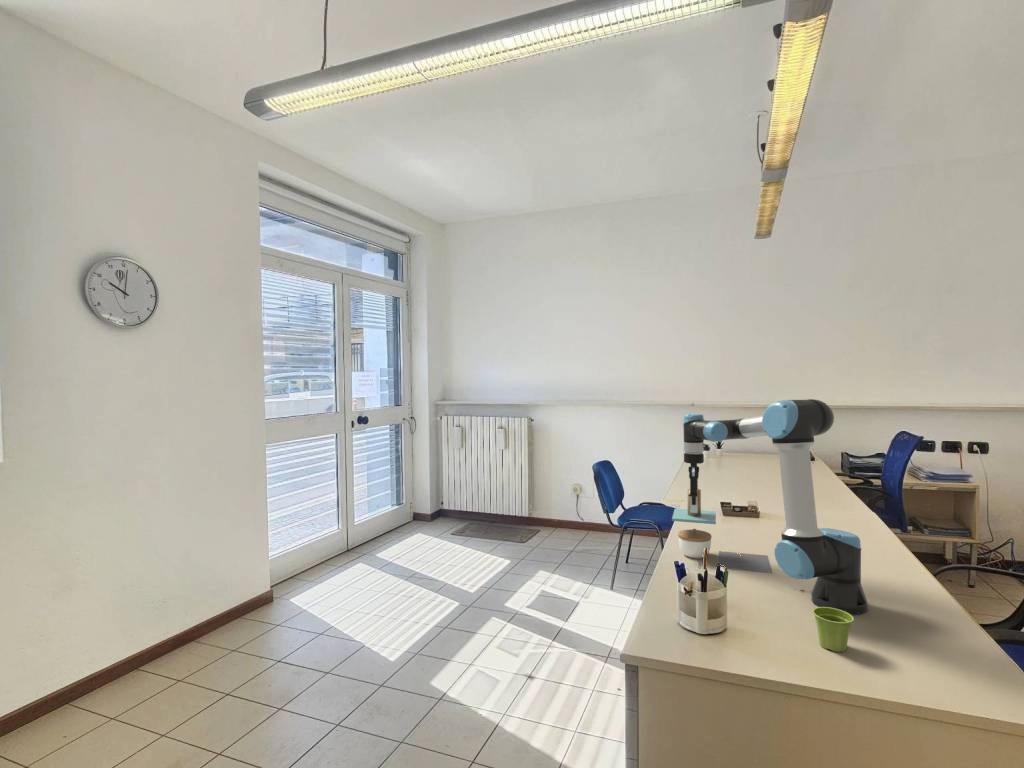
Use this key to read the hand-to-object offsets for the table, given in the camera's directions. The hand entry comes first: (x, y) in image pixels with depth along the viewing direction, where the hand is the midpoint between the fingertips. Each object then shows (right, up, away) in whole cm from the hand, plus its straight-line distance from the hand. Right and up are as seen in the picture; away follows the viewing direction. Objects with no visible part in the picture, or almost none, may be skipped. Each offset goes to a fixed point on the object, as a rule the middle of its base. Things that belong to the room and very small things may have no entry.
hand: (694, 510), depth 216 cm
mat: (+17, -18, -8) cm, 26 cm away
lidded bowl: (0, -19, 0) cm, 19 cm away
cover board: (0, -3, 0) cm, 3 cm away
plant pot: (+13, -20, -72) cm, 75 cm away
